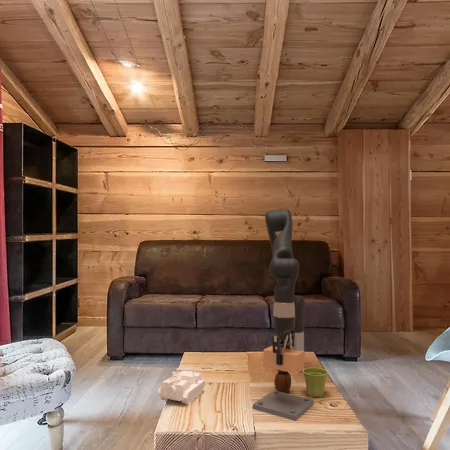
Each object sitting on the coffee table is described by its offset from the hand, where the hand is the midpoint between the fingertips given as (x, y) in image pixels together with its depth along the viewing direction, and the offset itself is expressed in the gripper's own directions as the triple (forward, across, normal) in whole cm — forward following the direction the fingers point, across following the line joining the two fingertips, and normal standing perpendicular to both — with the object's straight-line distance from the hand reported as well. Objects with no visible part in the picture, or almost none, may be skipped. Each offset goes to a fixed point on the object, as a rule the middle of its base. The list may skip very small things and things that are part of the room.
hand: (283, 362), depth 140 cm
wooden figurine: (+15, -12, -6) cm, 20 cm away
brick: (+2, 0, 0) cm, 2 cm away
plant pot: (+15, -17, +5) cm, 24 cm away
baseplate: (+15, 0, 0) cm, 15 cm away
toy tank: (+16, +15, -34) cm, 41 cm away
